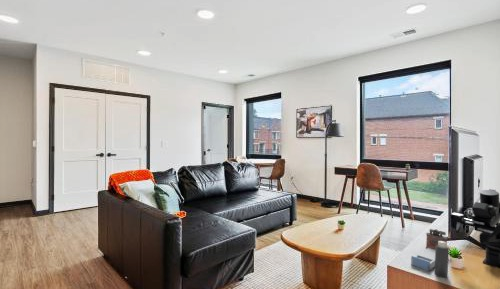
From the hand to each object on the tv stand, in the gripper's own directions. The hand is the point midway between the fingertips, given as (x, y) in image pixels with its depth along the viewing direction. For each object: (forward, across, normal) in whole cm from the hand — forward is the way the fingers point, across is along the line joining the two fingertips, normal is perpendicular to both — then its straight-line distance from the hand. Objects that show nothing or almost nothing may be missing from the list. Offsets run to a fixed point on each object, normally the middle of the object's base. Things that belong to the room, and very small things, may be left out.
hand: (471, 236), depth 97 cm
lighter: (-12, -18, +20) cm, 30 cm away
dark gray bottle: (+10, -7, +14) cm, 18 cm away
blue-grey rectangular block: (+2, -15, +16) cm, 22 cm away
